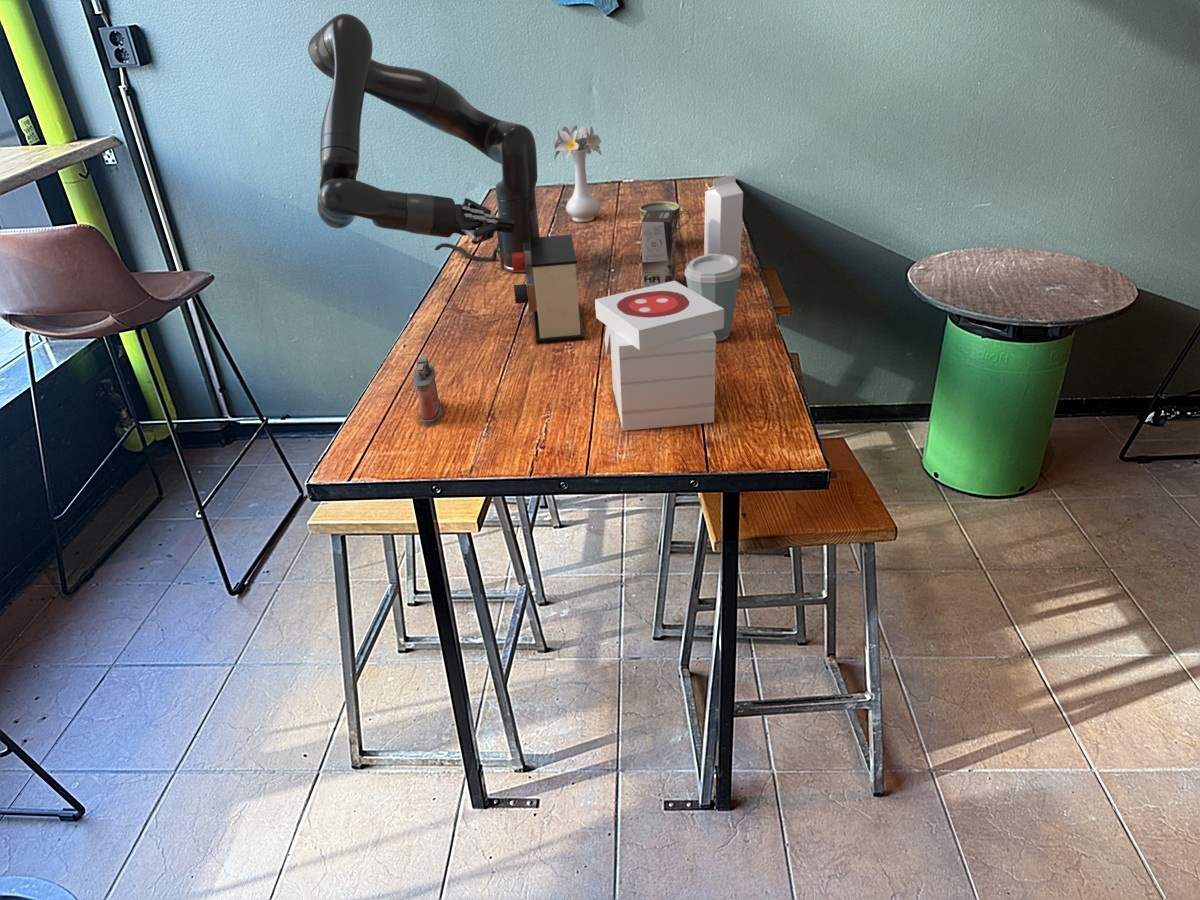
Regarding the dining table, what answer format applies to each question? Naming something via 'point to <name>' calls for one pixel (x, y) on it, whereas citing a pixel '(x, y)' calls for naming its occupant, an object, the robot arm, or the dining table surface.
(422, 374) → the lighter
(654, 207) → the ceramic cup
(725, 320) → the disposable coffee cup
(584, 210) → the flower vase
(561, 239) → the control box
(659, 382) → the pizza boxes
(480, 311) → the dining table surface
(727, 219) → the milk
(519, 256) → the red button
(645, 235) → the coffee box
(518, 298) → the black button
